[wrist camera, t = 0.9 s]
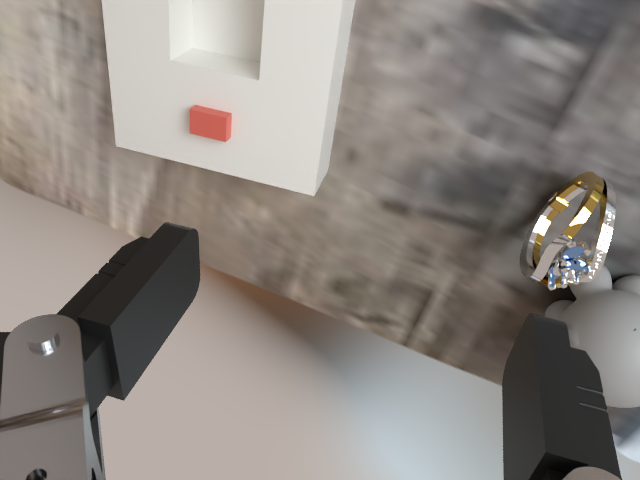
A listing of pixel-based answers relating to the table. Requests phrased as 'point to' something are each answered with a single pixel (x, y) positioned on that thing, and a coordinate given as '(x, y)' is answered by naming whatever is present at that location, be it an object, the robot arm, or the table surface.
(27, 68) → the table surface
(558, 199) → the ring
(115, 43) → the socket
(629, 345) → the chubby cartoon animal
